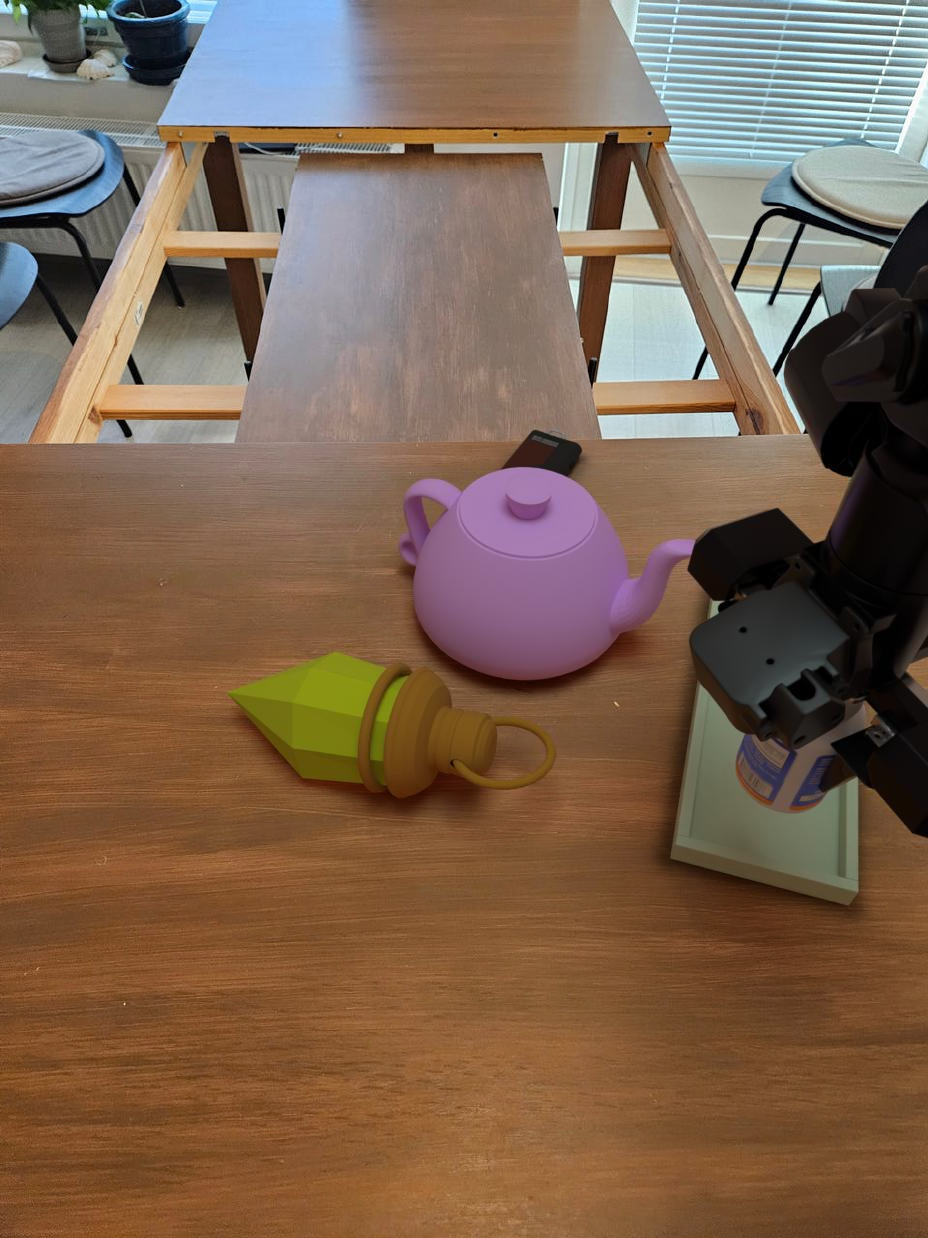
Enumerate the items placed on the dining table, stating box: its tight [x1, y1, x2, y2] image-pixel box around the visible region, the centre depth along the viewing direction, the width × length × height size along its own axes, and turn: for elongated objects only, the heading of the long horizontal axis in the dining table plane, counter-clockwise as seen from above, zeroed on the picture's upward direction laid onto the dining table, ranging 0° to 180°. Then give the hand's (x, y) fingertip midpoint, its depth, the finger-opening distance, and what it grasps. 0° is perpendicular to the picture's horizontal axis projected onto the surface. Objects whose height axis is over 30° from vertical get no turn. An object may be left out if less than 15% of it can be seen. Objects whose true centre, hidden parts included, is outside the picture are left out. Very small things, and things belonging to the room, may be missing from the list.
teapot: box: [397, 467, 696, 681], centre depth 70 cm, size 25×18×14 cm
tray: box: [669, 597, 859, 906], centre depth 67 cm, size 28×12×2 cm, turn 163°
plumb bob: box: [226, 651, 557, 799], centre depth 62 cm, size 9×9×25 cm
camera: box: [499, 428, 583, 477], centre depth 86 cm, size 6×3×11 cm
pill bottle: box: [735, 700, 867, 814], centre depth 49 cm, size 5×5×10 cm
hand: (794, 747), depth 50 cm, fingers closed on pill bottle, 5 cm apart
